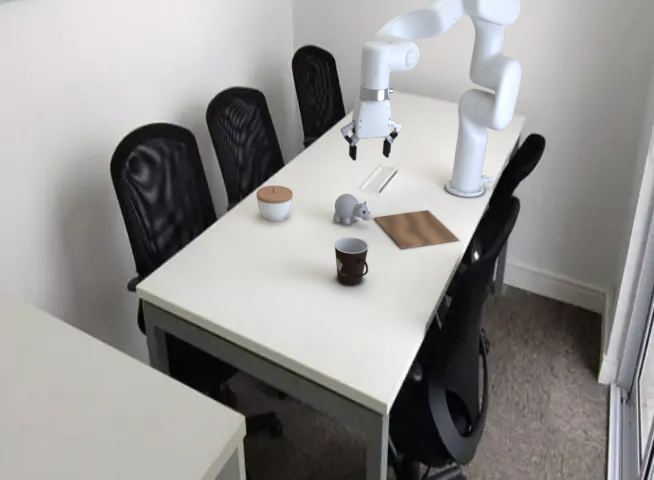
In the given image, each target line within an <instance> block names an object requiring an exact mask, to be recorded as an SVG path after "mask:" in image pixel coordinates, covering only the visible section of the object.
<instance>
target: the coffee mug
mask: <svg viewBox="0 0 654 480" xmlns="http://www.w3.org/2000/svg"><path fill="white" fill-rule="evenodd" d="M368 251H369V244H368V242H367V241H366V240H364V239H361V238H358V237H343V238H340V239H338V240H336V241H335V242H334V253H335V263H336V274H337V275H336V276H337V281H338V283H340V284H341V285H344V286H348V287H349V286H351V287H353V286H354V287H355V286H357V285H359V284H361V283H362V282H363V277H364V276H366V275H367V274H368V273H369V265H368V263H367V261H366V260H367V256H368Z"/></svg>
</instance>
